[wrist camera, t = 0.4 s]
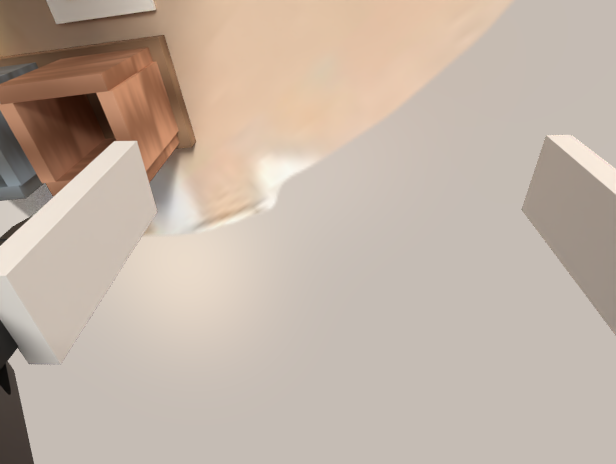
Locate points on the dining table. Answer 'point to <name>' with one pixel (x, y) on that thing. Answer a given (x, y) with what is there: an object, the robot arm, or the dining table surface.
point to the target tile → (95, 8)
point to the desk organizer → (86, 111)
